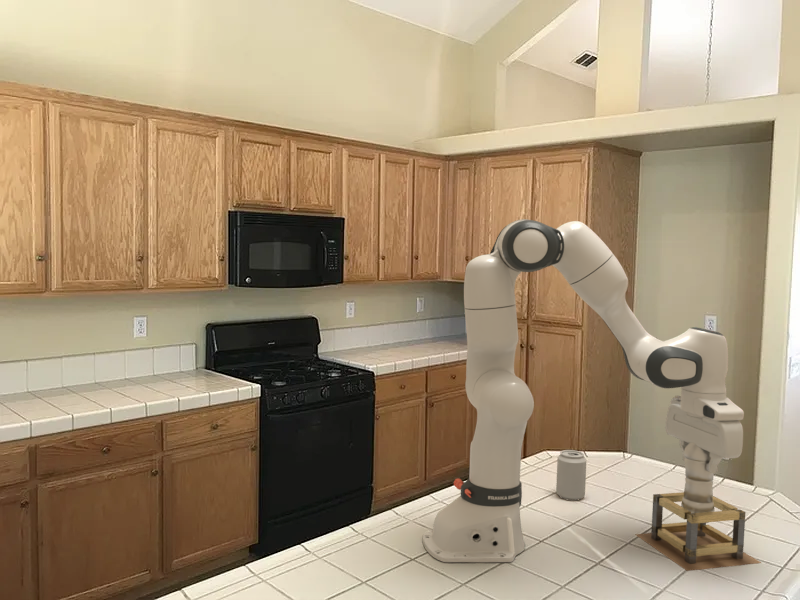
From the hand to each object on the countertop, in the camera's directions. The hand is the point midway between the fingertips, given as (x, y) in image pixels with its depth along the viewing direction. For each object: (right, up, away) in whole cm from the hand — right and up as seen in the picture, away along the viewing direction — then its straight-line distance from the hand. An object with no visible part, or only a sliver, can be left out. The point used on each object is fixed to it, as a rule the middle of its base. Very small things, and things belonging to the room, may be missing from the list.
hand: (699, 466), depth 144 cm
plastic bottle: (0, -12, 0) cm, 12 cm away
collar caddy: (0, -18, +1) cm, 18 cm away
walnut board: (0, -19, +1) cm, 19 cm away
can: (-19, -17, +35) cm, 43 cm away
